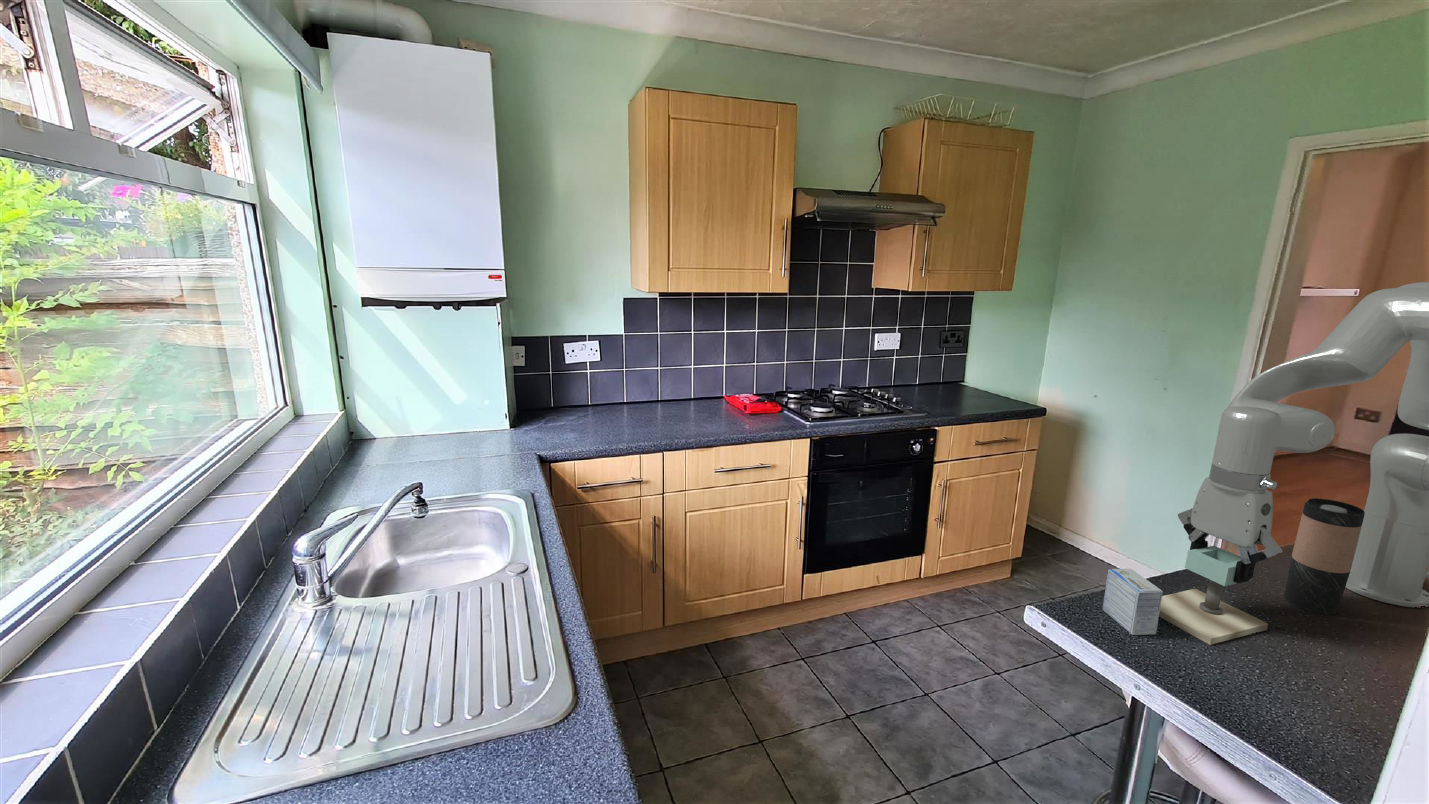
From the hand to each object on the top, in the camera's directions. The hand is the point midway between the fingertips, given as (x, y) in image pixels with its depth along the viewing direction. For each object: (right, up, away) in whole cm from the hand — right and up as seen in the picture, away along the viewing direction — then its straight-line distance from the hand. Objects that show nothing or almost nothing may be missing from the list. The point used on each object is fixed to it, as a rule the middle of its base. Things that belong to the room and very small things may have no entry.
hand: (1218, 570), depth 103 cm
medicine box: (-16, -10, +1) cm, 19 cm away
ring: (0, -1, 0) cm, 1 cm away
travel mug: (+22, -8, +5) cm, 24 cm away
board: (-2, -9, +2) cm, 9 cm away
